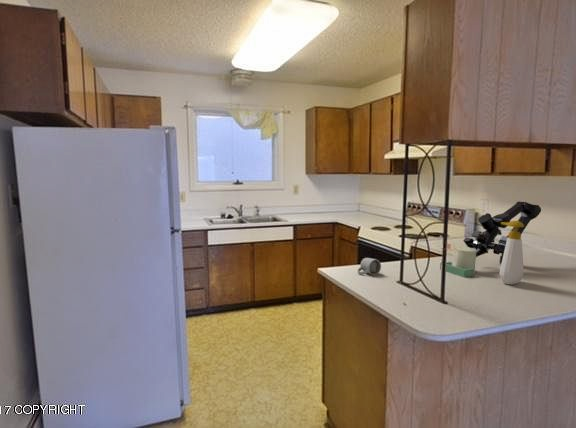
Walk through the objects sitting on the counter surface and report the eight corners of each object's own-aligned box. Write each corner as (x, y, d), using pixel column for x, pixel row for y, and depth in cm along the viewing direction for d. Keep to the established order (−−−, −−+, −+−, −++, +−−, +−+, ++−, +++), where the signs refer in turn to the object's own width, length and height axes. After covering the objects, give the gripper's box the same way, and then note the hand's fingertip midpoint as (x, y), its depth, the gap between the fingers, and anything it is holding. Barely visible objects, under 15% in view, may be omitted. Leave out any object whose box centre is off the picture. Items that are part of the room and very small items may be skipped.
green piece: (449, 268, 187) (451, 241, 186) (473, 275, 174) (475, 246, 172) (439, 269, 185) (441, 242, 183) (463, 277, 171) (465, 247, 170)
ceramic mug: (370, 269, 183) (370, 255, 182) (381, 274, 176) (381, 258, 175) (353, 272, 178) (354, 257, 177) (364, 277, 171) (364, 261, 170)
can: (474, 274, 175) (476, 251, 174) (454, 272, 180) (455, 248, 179) (475, 270, 183) (477, 247, 182) (456, 267, 188) (457, 245, 186)
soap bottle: (503, 277, 171) (509, 218, 168) (527, 283, 163) (533, 220, 159) (489, 281, 165) (494, 219, 161) (513, 288, 156) (518, 222, 152)
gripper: (467, 222, 191) (450, 244, 188) (499, 227, 174) (481, 251, 171) (476, 236, 195) (460, 257, 192) (508, 242, 178) (491, 265, 175)
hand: (472, 257), depth 183 cm, fingers closed, pressing on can
